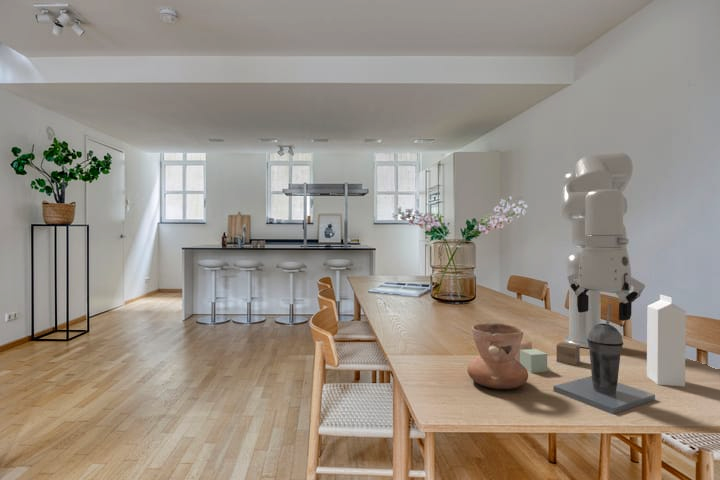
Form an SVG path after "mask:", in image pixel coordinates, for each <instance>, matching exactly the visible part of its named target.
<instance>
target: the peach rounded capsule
mask: <svg viewBox="0 0 720 480" xmlns="http://www.w3.org/2000/svg"><path fill="white" fill-rule="evenodd" d="M525 349H533V342H531V341H529V340H526V339H522V341H521V344H520V346H519V349H518V351H517V353H516V355H515V357H514V358H515V359H516V360H517V361H518V362H519V363H520V350H525Z"/></svg>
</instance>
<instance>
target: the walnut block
mask: <svg viewBox="0 0 720 480" xmlns="http://www.w3.org/2000/svg"><path fill="white" fill-rule="evenodd" d="M580 352H581V347H580V345H577V344H571V343H566V342H564V341H561V342H559V343H558V344H556V359H555V360H556V362H557V363H562V364H566V365H570V366H571V365H572V366H576V365H577V364H579V363H580V361H581V355H580V354H581V353H580Z"/></svg>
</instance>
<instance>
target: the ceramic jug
mask: <svg viewBox="0 0 720 480" xmlns="http://www.w3.org/2000/svg"><path fill="white" fill-rule="evenodd" d="M471 326H472V327H471V332H472V336H473V341H474V343H475V346H476V349H477V351H478V353H479V354H478V355H477V357H475V358H473V359H472V360H470V361H469V363H468V365H467V368H466V369H467V370H466V371H467V374H468V376H469V377H470V379H471V380H473V381H474V382H475V383H477V385H480V386H482V387H486V388H490V389H494V390H513V389H517V388H519V387H522V386H523V385H525V384H526V383H527V381H528V378H529V373H528V371H527V370H526V368H525V367H524V366H523V365H522V364H520V363H519V362H518V361H517V360H516V359H515V358H514V357H515V355H516V353H517V351H518V349H519V346H520V344H521V341H522V340H523V336H524V330H523V329H522V328H520V327H519V326H516V325H513V324H509V323H502V322H482V323H481V322H480V323H477V324H473V325H471Z"/></svg>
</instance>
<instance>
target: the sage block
mask: <svg viewBox="0 0 720 480" xmlns="http://www.w3.org/2000/svg"><path fill="white" fill-rule="evenodd" d="M520 364H522V365H523V366H524V367H525V368H526V370H527V372H529V373H530V374H534V373H545V372H546V373H547V372H548V353H546V352H544V351H542V350H540V349H537V348H532V349H525V350H520Z"/></svg>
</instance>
